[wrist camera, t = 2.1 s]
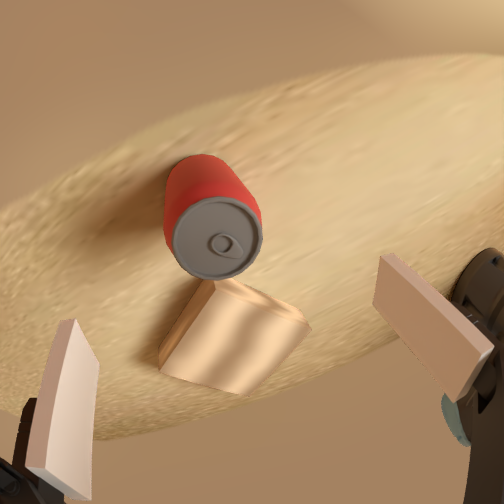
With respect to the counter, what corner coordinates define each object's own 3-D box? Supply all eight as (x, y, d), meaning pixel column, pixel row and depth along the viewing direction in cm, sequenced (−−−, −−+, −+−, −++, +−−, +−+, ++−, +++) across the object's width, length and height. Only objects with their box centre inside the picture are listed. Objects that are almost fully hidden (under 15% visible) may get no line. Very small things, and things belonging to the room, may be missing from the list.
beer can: (207, 231, 31) (227, 303, 21) (152, 196, 28) (141, 256, 18) (248, 179, 30) (292, 228, 20) (193, 139, 27) (206, 165, 17)
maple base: (300, 309, 39) (311, 329, 36) (243, 375, 43) (249, 396, 39) (210, 268, 33) (216, 289, 30) (158, 348, 37) (158, 372, 33)
